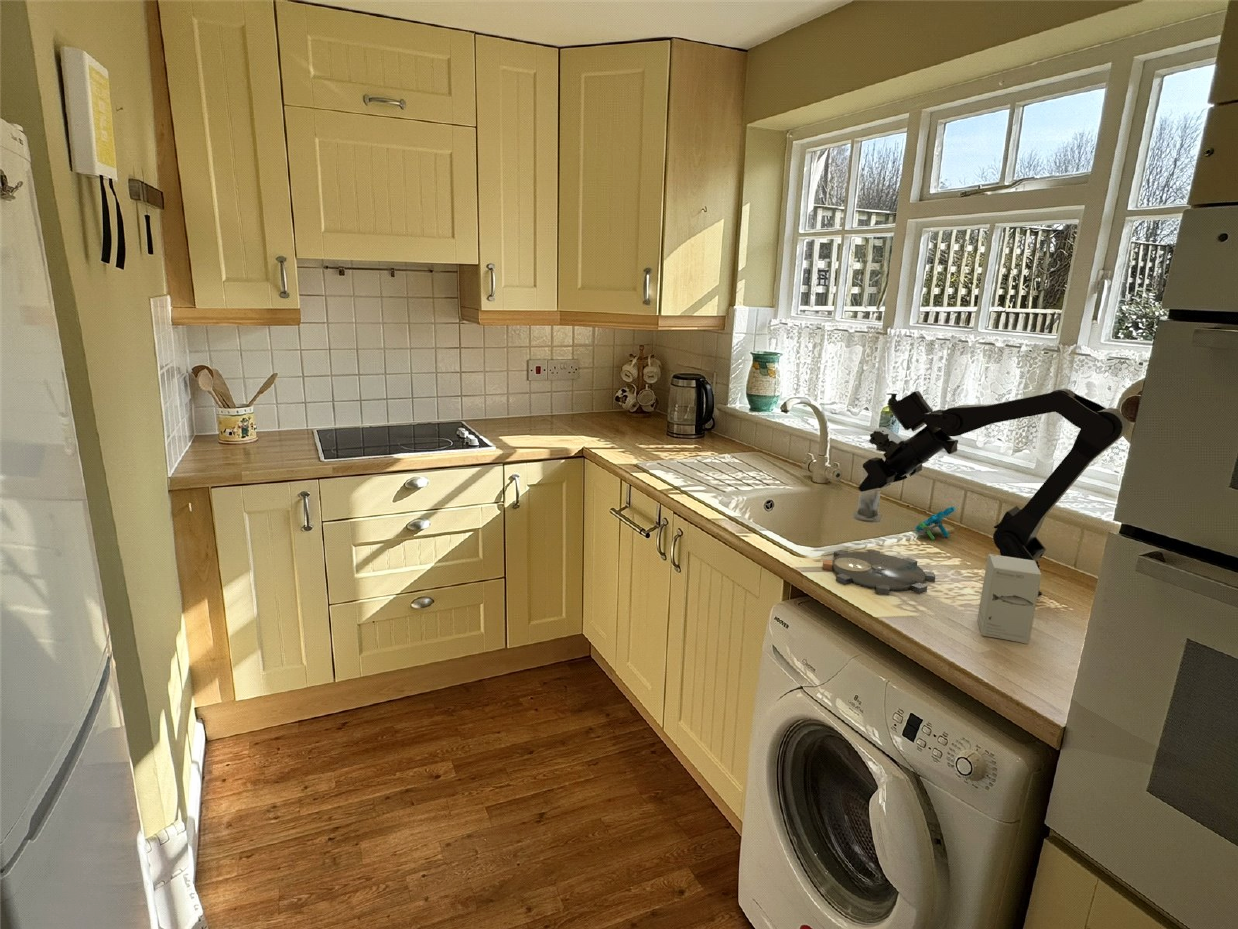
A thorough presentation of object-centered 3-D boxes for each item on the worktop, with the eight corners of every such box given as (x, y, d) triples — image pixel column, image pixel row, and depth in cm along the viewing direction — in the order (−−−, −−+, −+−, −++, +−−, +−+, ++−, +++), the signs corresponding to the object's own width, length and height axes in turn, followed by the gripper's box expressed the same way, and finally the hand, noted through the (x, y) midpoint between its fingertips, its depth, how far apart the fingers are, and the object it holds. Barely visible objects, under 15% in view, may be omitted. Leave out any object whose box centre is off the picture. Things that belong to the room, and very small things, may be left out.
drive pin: (886, 522, 160) (892, 471, 157) (860, 522, 159) (865, 472, 157) (873, 513, 166) (879, 465, 163) (848, 514, 165) (853, 465, 162)
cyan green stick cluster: (932, 518, 180) (960, 499, 172) (946, 539, 178) (975, 521, 170) (903, 531, 175) (930, 512, 167) (917, 552, 173) (945, 534, 165)
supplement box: (980, 636, 123) (992, 567, 120) (976, 618, 129) (987, 552, 126) (1029, 645, 120) (1042, 574, 117) (1023, 626, 127) (1035, 558, 124)
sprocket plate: (925, 561, 156) (926, 554, 156) (943, 601, 136) (944, 595, 136) (822, 549, 161) (822, 543, 161) (823, 587, 141) (824, 580, 141)
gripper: (914, 412, 161) (862, 452, 171) (876, 422, 148) (822, 464, 158) (946, 453, 157) (891, 491, 167) (910, 467, 144) (852, 507, 154)
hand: (864, 487), depth 162 cm, fingers closed on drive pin, 4 cm apart
